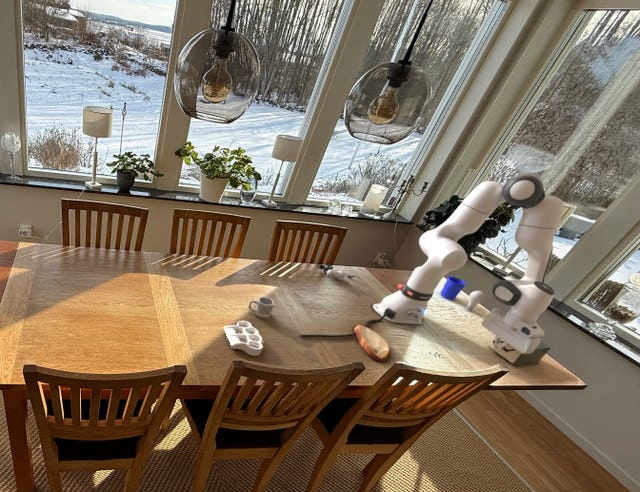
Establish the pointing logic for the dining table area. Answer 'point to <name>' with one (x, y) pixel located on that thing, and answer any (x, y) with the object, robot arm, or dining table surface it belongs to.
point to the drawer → (507, 352)
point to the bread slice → (372, 343)
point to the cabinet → (531, 355)
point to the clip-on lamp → (333, 272)
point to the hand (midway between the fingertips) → (497, 347)
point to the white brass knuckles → (244, 337)
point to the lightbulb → (475, 299)
